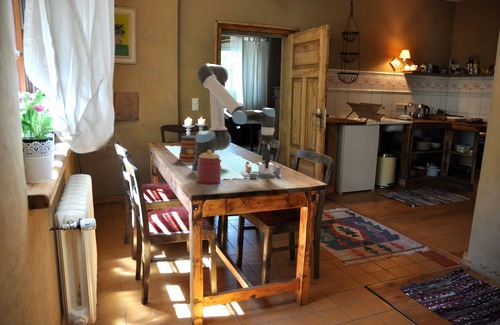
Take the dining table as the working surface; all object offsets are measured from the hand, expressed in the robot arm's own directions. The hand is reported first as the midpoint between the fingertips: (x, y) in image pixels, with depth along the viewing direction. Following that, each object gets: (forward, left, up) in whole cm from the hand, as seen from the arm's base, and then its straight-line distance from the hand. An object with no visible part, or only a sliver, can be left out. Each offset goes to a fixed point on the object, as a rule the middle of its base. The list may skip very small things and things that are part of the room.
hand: (265, 172), depth 233 cm
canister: (-35, -19, -2) cm, 40 cm away
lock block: (0, 0, -1) cm, 1 cm away
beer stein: (-43, +44, -2) cm, 61 cm away
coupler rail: (-3, -3, -2) cm, 4 cm away
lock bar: (-9, +9, -1) cm, 13 cm away
